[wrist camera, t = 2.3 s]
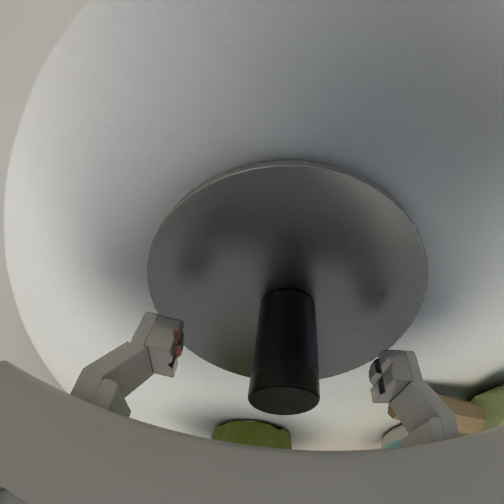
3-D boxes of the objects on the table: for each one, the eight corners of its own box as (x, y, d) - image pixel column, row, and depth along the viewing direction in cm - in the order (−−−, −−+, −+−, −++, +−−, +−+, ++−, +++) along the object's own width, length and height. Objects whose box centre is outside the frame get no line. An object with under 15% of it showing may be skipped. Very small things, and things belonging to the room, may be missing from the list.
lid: (152, 134, 10) (54, 196, 5) (461, 199, 10) (536, 286, 5) (164, 345, 17) (136, 423, 12) (359, 375, 17) (367, 453, 12)
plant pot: (167, 411, 24) (138, 515, 14) (283, 399, 19) (270, 543, 10) (233, 450, 29) (220, 531, 20) (329, 441, 25) (326, 537, 16)
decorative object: (353, 426, 21) (502, 450, 18) (396, 481, 11) (546, 472, 9) (397, 335, 22) (530, 387, 20) (465, 349, 12) (581, 397, 10)
